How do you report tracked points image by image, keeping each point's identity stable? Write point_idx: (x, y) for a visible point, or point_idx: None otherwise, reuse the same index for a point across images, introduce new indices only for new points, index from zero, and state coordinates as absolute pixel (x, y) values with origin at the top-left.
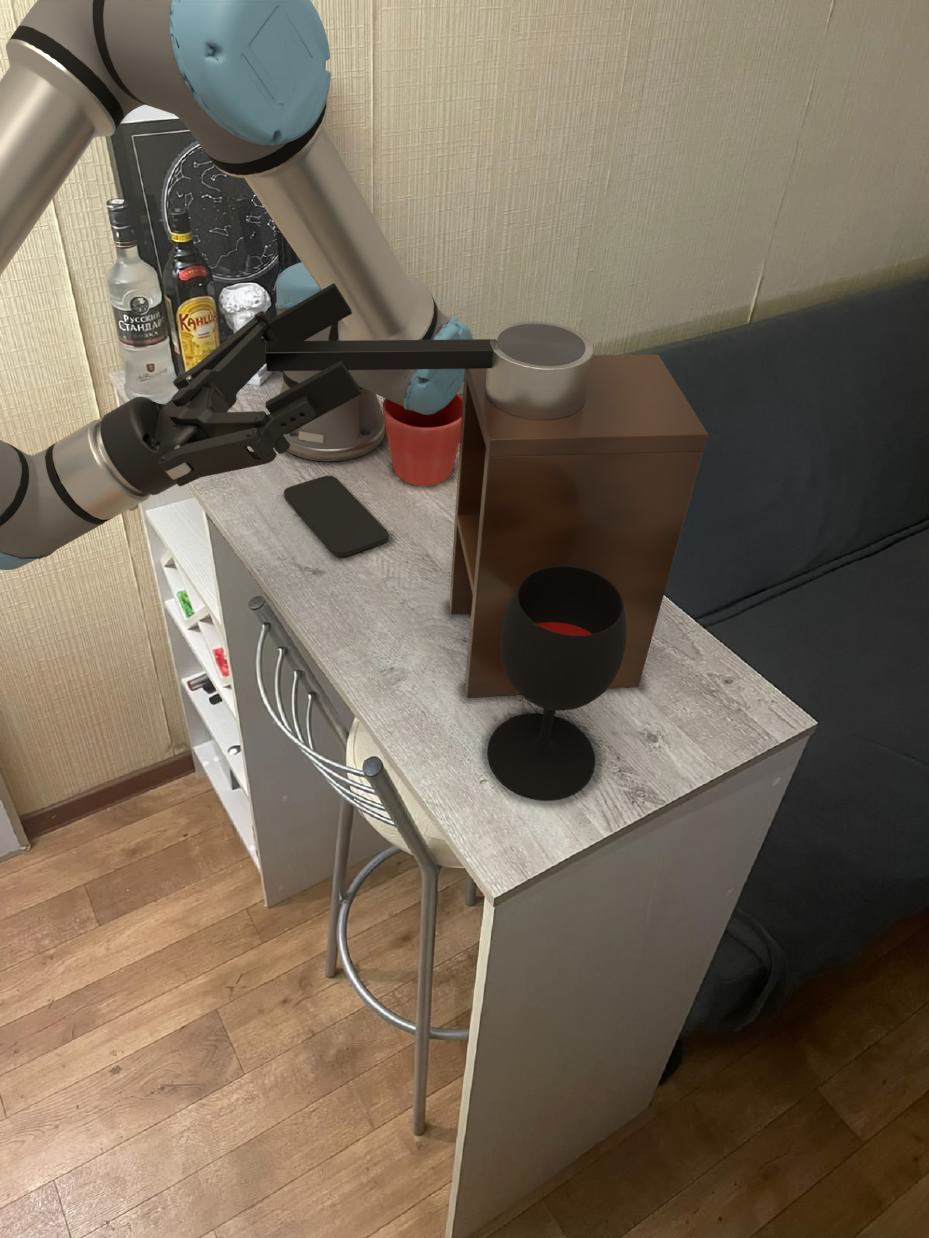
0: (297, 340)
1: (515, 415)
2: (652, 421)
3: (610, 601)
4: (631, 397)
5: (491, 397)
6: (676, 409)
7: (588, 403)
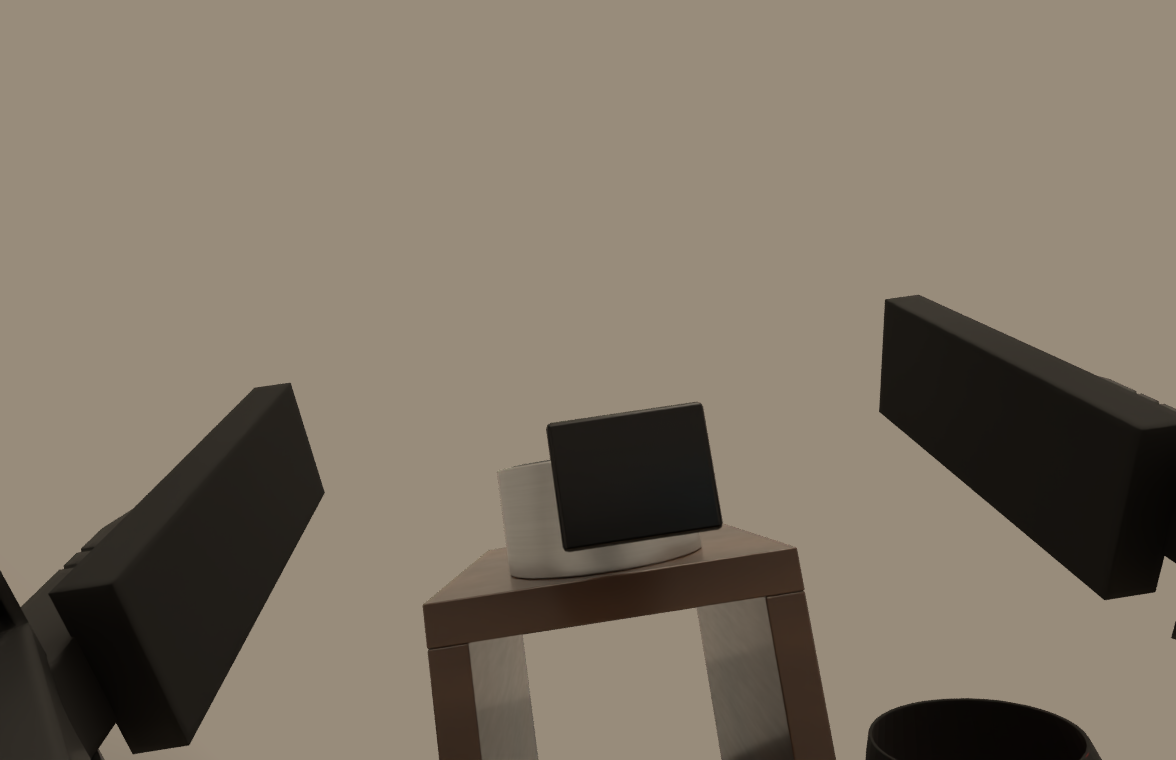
0: (219, 658)
1: (692, 551)
2: None
3: (895, 752)
4: None
5: (643, 552)
6: None
7: None
